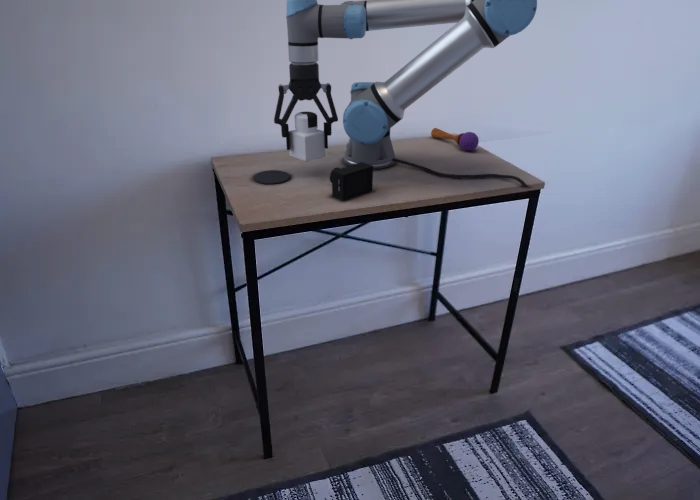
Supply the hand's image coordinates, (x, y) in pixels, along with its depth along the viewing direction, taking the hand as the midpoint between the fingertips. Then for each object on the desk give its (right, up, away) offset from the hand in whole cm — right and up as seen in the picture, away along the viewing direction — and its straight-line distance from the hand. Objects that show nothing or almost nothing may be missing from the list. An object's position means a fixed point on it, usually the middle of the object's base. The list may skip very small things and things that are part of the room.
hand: (307, 147), depth 145 cm
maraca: (+46, +7, +30) cm, 55 cm away
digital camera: (+12, -14, -9) cm, 20 cm away
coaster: (-10, -8, 0) cm, 13 cm away
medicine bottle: (0, -2, +1) cm, 3 cm away
